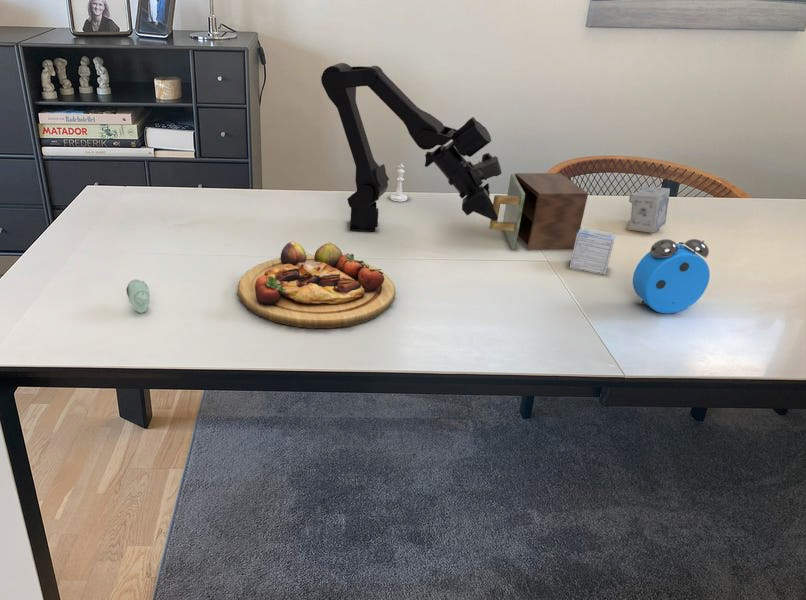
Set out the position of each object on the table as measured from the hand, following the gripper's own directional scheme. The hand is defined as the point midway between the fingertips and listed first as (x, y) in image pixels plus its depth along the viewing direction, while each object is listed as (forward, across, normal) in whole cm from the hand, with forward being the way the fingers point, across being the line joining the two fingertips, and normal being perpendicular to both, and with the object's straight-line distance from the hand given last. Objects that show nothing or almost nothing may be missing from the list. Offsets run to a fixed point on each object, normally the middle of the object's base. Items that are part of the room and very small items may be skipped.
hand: (496, 218), depth 167 cm
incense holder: (+34, +23, -23) cm, 47 cm away
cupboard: (+14, +9, -4) cm, 17 cm away
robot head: (-43, -52, +53) cm, 86 cm away
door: (+6, +6, +4) cm, 9 cm away
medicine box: (+20, -8, -10) cm, 24 cm away
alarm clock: (+29, -26, -19) cm, 43 cm away
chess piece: (-13, +30, +23) cm, 39 cm away
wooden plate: (-21, -36, +31) cm, 52 cm away
